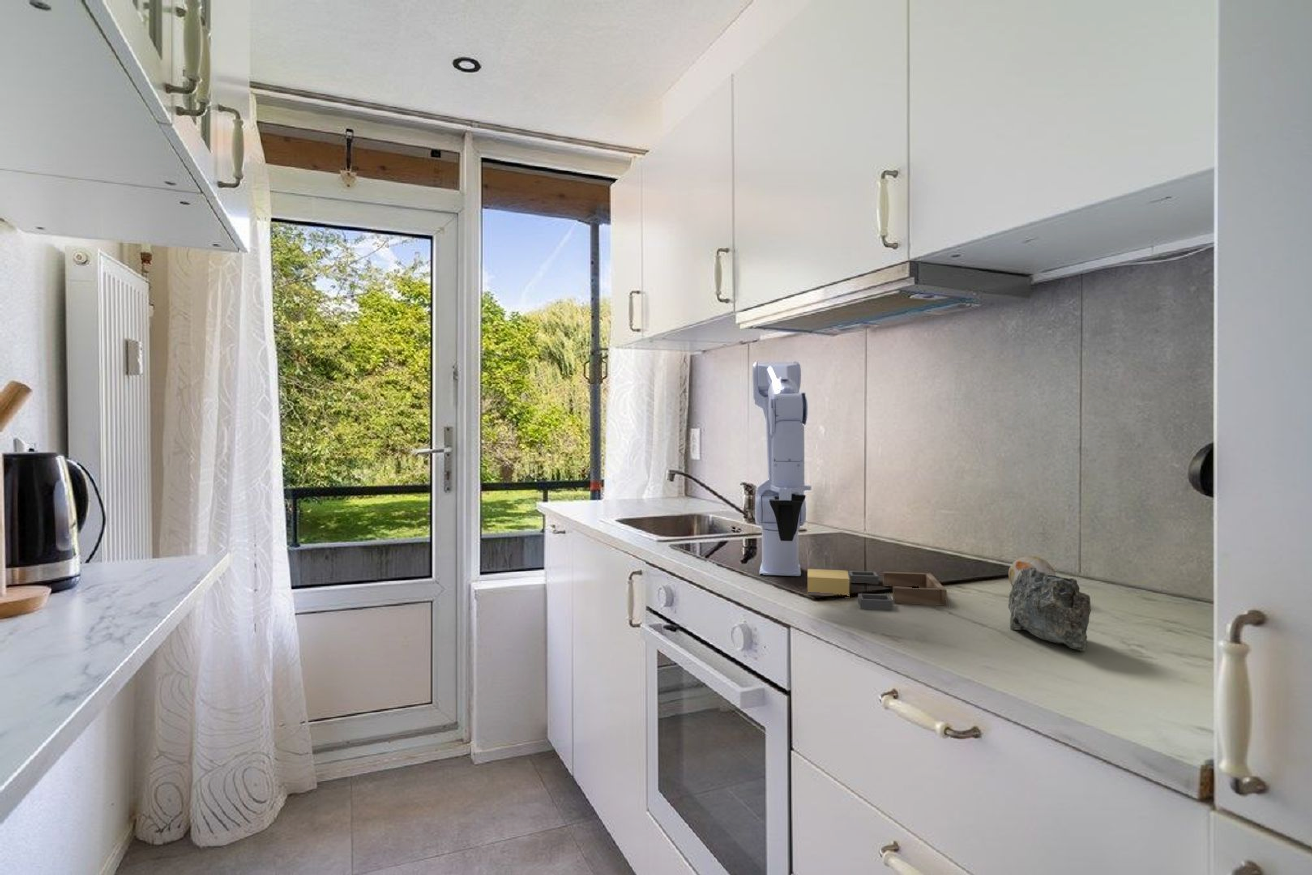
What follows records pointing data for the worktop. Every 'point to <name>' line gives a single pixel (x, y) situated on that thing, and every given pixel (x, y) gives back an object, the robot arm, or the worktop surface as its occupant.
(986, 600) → the worktop surface
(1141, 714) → the worktop surface
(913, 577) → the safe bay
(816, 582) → the block
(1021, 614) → the rock
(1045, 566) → the cream rounded piece
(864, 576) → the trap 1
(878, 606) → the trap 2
